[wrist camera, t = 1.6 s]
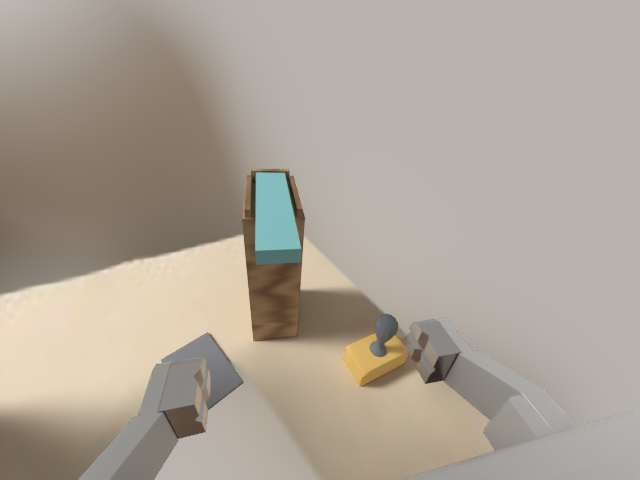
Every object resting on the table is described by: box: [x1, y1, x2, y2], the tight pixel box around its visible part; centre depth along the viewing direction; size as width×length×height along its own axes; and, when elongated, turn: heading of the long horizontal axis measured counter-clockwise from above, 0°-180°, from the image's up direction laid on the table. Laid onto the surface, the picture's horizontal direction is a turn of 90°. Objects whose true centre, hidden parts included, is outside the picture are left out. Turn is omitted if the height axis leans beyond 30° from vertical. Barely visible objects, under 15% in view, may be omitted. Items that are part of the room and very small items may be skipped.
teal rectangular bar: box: [255, 172, 301, 265], centre depth 35 cm, size 4×20×2 cm, turn 11°
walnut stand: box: [242, 169, 305, 341], centre depth 46 cm, size 8×12×28 cm, turn 11°
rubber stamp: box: [343, 314, 409, 386], centre depth 44 cm, size 10×6×12 cm, turn 118°
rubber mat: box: [161, 332, 243, 410], centre depth 43 cm, size 8×12×1 cm, turn 45°
